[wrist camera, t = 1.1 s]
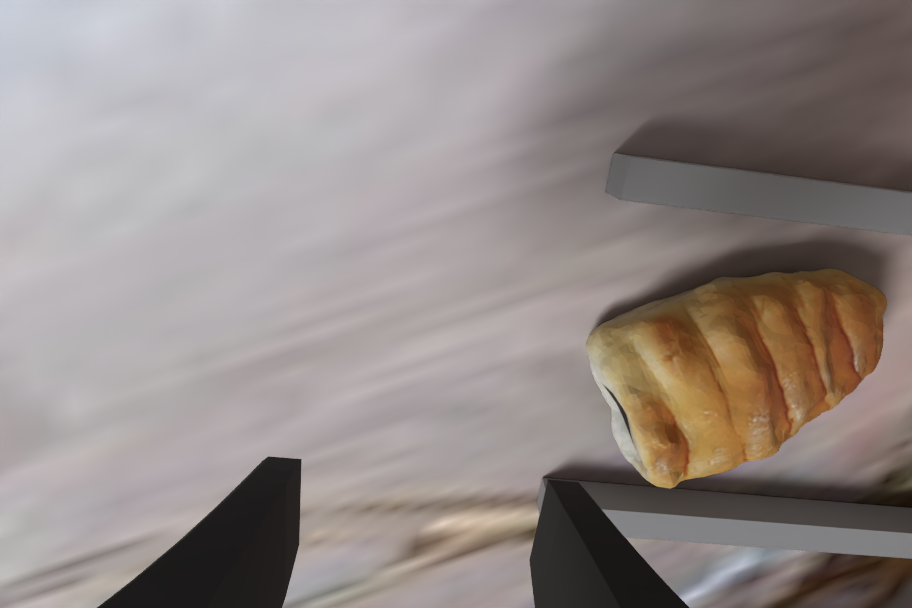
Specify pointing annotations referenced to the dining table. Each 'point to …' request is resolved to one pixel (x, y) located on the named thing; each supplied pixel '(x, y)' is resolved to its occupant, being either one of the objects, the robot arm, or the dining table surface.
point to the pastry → (733, 367)
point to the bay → (741, 513)
